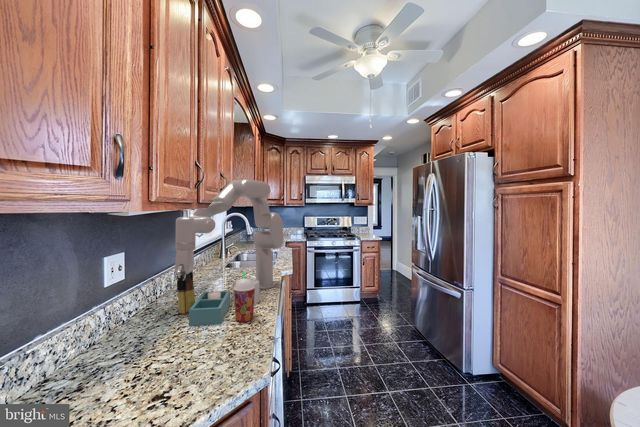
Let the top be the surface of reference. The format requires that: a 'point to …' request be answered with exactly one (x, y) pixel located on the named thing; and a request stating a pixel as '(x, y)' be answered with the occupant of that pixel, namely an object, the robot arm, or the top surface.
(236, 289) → the smoothie
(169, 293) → the top surface
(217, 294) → the cream jar
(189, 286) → the sauce bottle
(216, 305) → the bottle crate
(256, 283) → the toilet tissue
